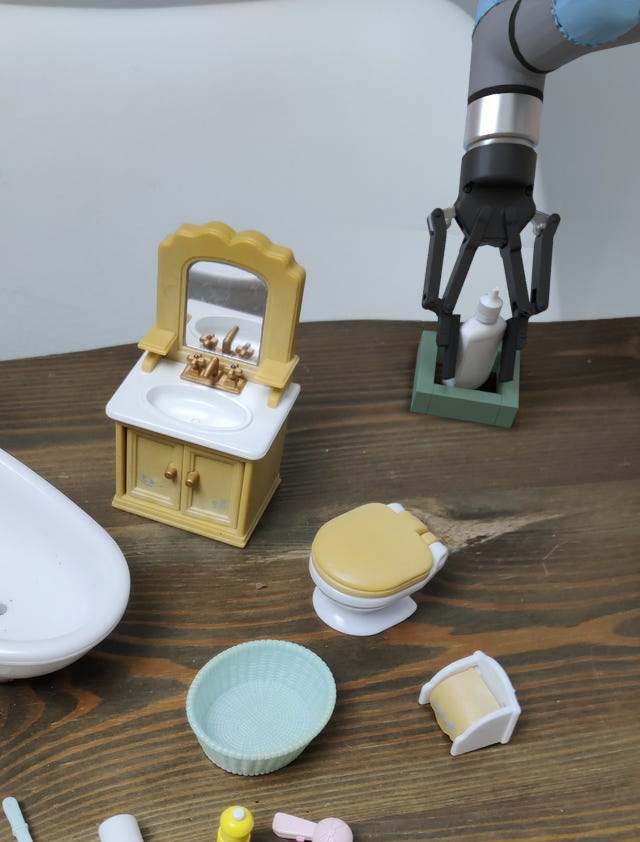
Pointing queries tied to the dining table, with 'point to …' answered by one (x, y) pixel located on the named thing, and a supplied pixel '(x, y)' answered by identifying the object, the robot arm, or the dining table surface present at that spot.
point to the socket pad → (462, 391)
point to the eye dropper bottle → (479, 343)
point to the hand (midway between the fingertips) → (476, 379)
